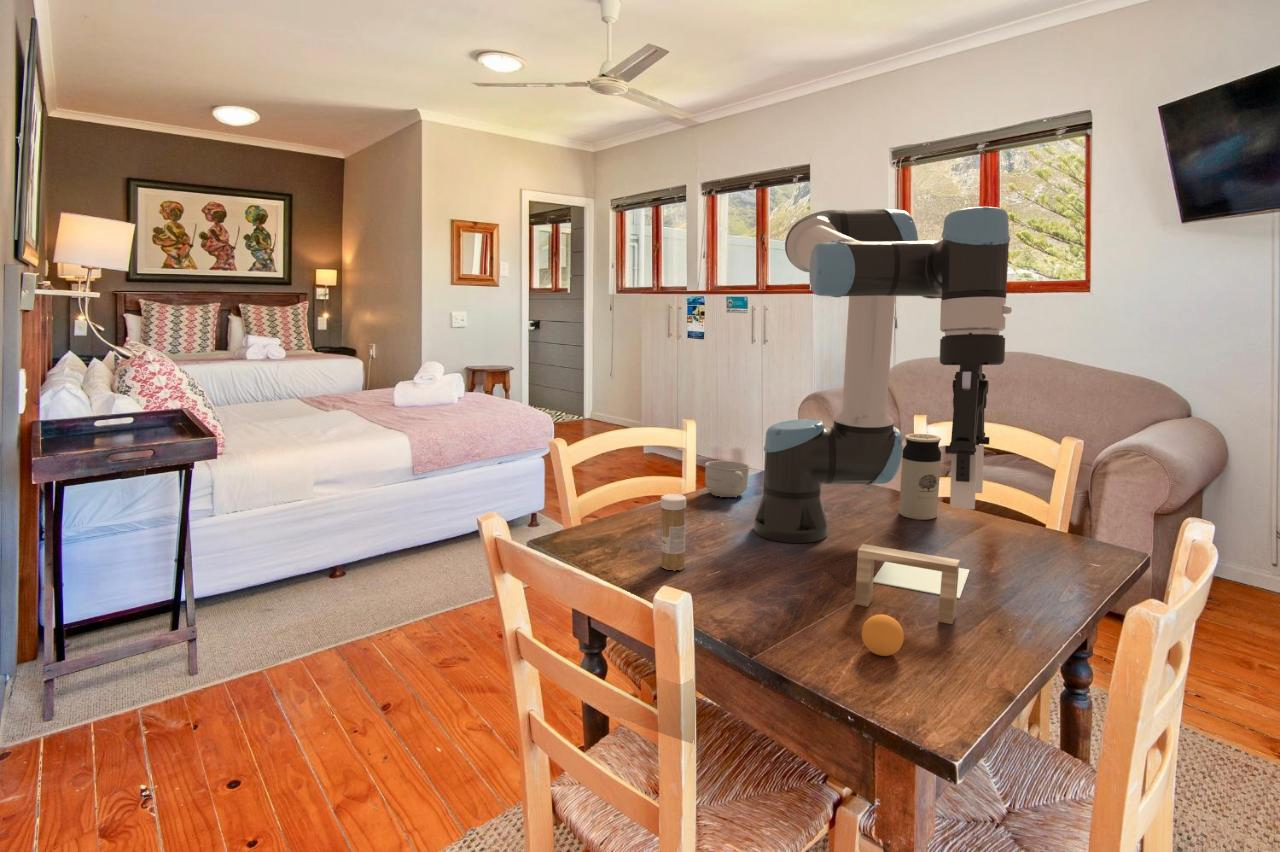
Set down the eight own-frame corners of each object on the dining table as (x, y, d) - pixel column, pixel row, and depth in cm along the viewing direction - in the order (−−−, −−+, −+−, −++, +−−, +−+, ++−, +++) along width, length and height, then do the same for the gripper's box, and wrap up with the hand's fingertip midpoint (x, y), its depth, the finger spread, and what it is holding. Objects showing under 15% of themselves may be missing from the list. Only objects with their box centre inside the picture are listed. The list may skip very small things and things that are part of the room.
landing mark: (871, 582, 125) (871, 581, 125) (889, 556, 137) (889, 555, 137) (959, 598, 118) (959, 597, 118) (969, 570, 130) (969, 569, 130)
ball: (856, 657, 99) (858, 619, 98) (866, 640, 104) (868, 604, 103) (898, 667, 97) (900, 628, 96) (906, 649, 101) (908, 613, 100)
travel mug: (895, 509, 167) (900, 432, 164) (931, 510, 166) (937, 433, 162) (902, 520, 159) (908, 439, 156) (940, 521, 158) (946, 440, 155)
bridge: (952, 624, 109) (956, 566, 107) (855, 604, 116) (857, 549, 115) (955, 616, 112) (959, 560, 110) (859, 597, 119) (862, 544, 117)
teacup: (701, 490, 184) (701, 459, 183) (743, 488, 185) (744, 458, 184) (711, 505, 171) (711, 472, 169) (756, 504, 171) (757, 471, 170)
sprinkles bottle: (658, 563, 134) (658, 493, 131) (682, 562, 135) (682, 492, 132) (663, 573, 129) (663, 500, 127) (688, 571, 130) (688, 499, 128)
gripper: (1001, 327, 79) (994, 518, 81) (1008, 338, 101) (1003, 488, 102) (927, 329, 83) (922, 512, 84) (950, 339, 105) (946, 484, 106)
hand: (967, 499), depth 93 cm, fingers open, 13 cm apart
